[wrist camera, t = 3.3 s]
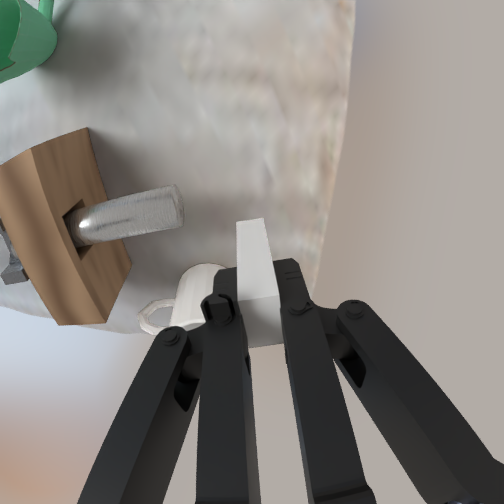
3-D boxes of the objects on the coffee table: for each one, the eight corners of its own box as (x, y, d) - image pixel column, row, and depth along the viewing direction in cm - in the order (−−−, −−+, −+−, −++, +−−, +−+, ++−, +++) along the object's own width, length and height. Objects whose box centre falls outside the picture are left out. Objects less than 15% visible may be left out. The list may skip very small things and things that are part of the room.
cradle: (34, 250, 31) (5, 284, 24) (14, 201, 27) (-22, 229, 20) (57, 245, 31) (27, 281, 24) (35, 191, 27) (-2, 220, 20)
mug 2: (149, 253, 33) (127, 308, 24) (246, 267, 35) (251, 325, 26) (150, 302, 37) (134, 358, 28) (235, 314, 39) (237, 371, 30)
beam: (89, 272, 34) (58, 325, 25) (42, 147, 24) (-14, 174, 15) (132, 265, 33) (105, 323, 25) (87, 127, 24) (30, 147, 15)
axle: (34, 249, 26) (19, 266, 22) (22, 223, 24) (5, 238, 21) (186, 216, 25) (179, 234, 22) (176, 179, 23) (168, 193, 20)
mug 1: (63, 83, 21) (5, 88, 12) (8, 86, 19) (-46, 97, 10) (100, -29, 14) (58, -58, 5) (38, -16, 12) (-8, -30, 3)
